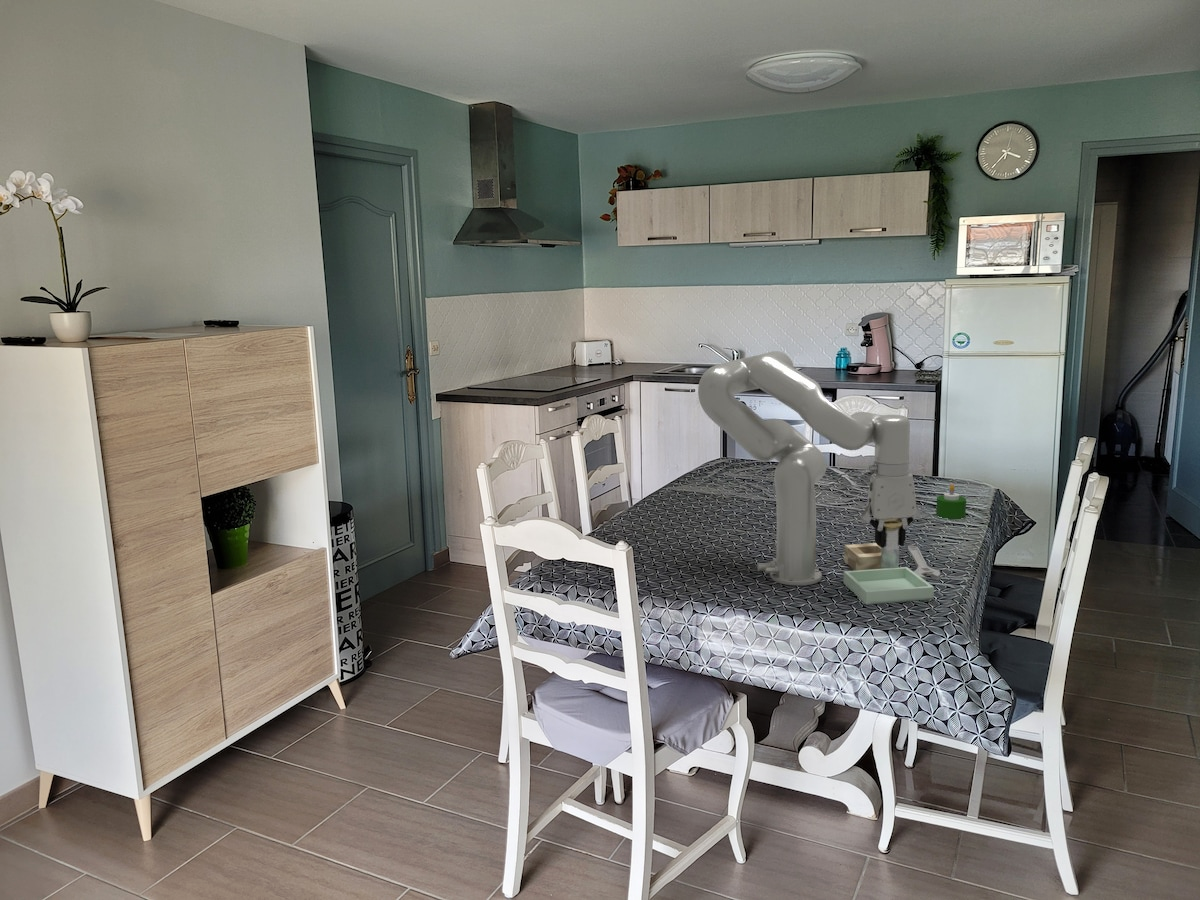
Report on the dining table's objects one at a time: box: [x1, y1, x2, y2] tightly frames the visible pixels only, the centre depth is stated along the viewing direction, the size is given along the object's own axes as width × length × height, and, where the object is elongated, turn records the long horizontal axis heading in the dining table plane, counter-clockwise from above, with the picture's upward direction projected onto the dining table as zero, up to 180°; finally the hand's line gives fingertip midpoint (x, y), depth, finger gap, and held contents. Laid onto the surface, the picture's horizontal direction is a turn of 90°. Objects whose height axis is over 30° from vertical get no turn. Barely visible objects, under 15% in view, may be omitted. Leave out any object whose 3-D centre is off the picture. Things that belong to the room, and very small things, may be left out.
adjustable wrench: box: [907, 545, 941, 582], centre depth 225 cm, size 25×6×2 cm, turn 165°
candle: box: [935, 483, 967, 520], centre depth 265 cm, size 8×8×10 cm
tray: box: [842, 566, 935, 605], centre depth 208 cm, size 16×14×3 cm
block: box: [843, 542, 886, 571], centre depth 224 cm, size 10×10×4 cm
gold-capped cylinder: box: [881, 519, 902, 569], centre depth 205 cm, size 5×5×11 cm
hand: (890, 544), depth 206 cm, fingers closed on gold-capped cylinder, 4 cm apart
